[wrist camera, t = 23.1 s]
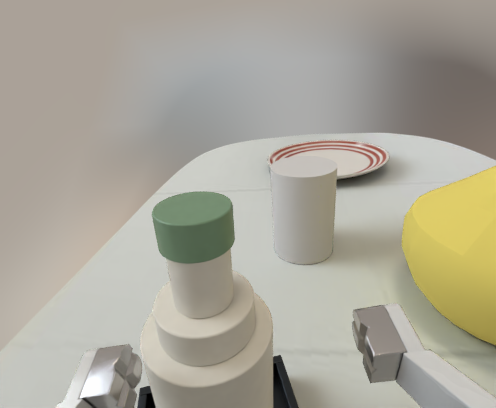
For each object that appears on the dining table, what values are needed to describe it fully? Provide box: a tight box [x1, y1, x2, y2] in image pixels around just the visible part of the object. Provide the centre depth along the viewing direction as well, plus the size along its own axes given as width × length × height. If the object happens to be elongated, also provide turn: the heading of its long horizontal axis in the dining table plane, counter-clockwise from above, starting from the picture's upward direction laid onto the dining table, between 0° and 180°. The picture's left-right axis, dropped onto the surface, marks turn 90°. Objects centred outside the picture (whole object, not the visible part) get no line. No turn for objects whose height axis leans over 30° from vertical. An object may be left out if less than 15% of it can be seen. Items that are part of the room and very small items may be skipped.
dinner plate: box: [267, 140, 390, 180], centre depth 70 cm, size 28×27×3 cm
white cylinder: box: [270, 156, 337, 265], centre depth 39 cm, size 8×8×12 cm
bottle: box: [140, 192, 273, 408], centre depth 15 cm, size 6×6×18 cm
